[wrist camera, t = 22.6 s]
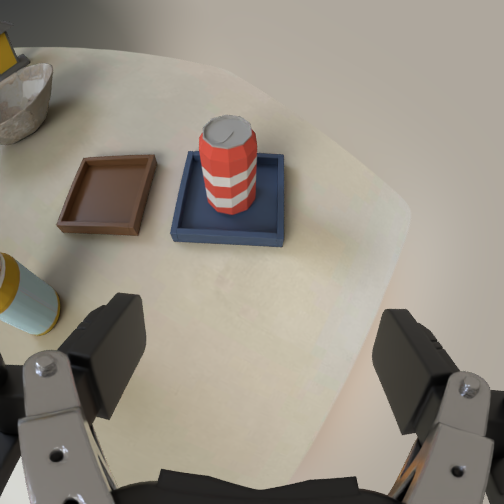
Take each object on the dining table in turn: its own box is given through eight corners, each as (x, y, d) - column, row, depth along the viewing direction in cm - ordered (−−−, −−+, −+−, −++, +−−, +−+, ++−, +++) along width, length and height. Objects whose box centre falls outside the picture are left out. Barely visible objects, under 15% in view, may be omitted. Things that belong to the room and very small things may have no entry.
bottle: (66, 287, 37) (-1, 231, 23) (58, 339, 34) (-20, 300, 20) (28, 285, 37) (-39, 234, 23) (20, 333, 33) (-56, 295, 20)
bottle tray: (157, 163, 46) (154, 154, 44) (137, 235, 40) (133, 227, 38) (87, 166, 46) (83, 157, 44) (62, 232, 40) (56, 225, 38)
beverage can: (198, 204, 41) (184, 139, 31) (225, 172, 44) (220, 105, 33) (237, 225, 40) (234, 160, 29) (263, 190, 43) (268, 123, 32)
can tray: (282, 164, 46) (283, 154, 44) (282, 247, 40) (283, 239, 38) (190, 160, 46) (188, 151, 44) (173, 241, 40) (169, 233, 38)
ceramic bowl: (24, 174, 46) (-2, 138, 37) (-27, 162, 48) (-49, 134, 39) (88, 95, 55) (74, 58, 46) (28, 95, 58) (13, 66, 49)
